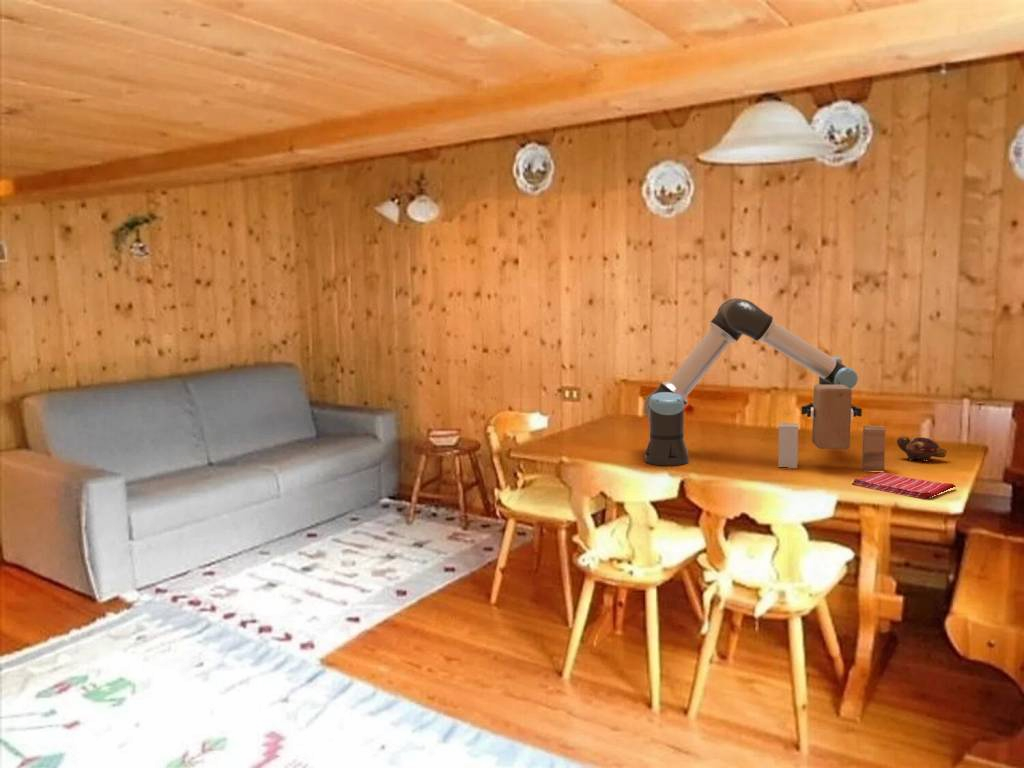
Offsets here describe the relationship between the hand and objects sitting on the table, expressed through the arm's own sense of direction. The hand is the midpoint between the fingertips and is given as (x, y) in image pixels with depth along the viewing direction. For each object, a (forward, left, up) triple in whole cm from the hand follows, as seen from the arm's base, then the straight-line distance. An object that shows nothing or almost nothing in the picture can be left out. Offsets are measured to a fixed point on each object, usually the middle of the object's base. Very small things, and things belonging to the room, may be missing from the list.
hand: (831, 415), depth 261 cm
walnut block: (+8, -11, -18) cm, 23 cm away
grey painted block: (0, +14, -18) cm, 23 cm away
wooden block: (+4, +1, -11) cm, 12 cm away
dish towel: (-10, -24, -19) cm, 32 cm away
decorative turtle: (+31, -21, -19) cm, 41 cm away
